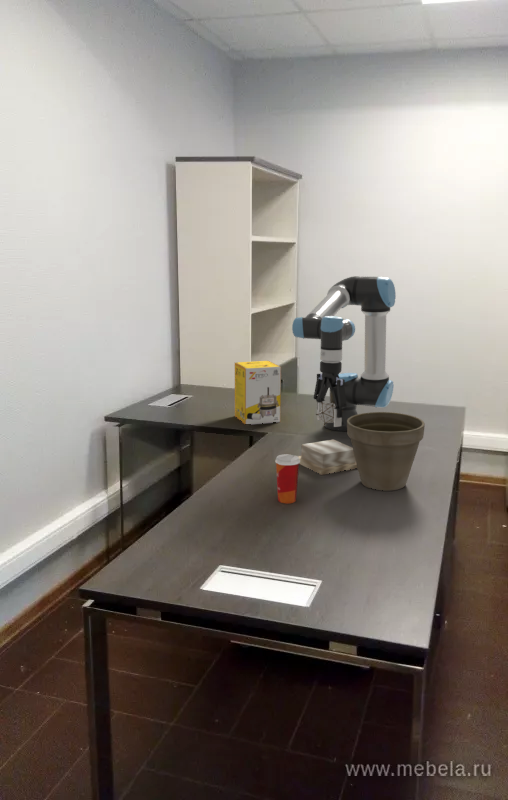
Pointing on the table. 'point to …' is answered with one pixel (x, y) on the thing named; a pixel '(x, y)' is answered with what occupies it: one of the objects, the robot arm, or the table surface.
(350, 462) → the tower base
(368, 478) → the plant pot
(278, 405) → the packaging box
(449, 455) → the table surface
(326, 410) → the wireframe icosahedron
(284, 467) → the paper cup
